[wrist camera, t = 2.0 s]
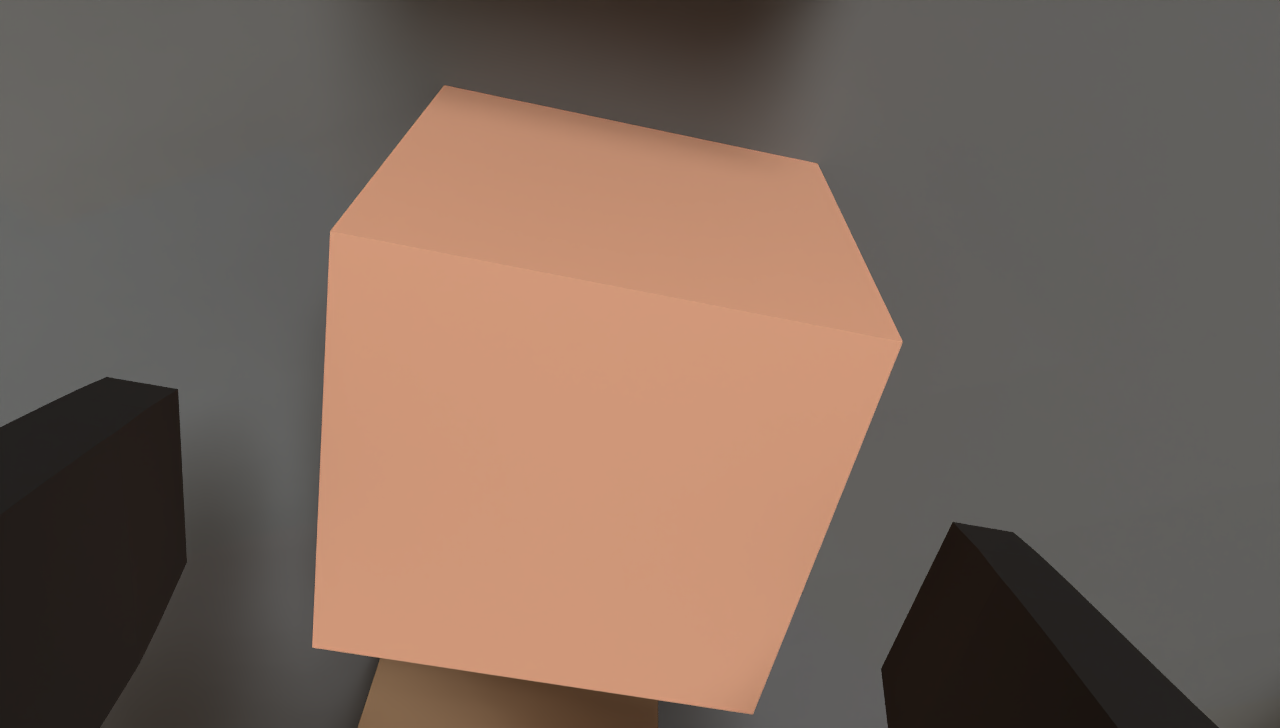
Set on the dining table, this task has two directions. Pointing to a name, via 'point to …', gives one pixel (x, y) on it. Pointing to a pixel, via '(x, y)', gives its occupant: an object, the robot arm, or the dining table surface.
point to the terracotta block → (587, 402)
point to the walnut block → (492, 702)
